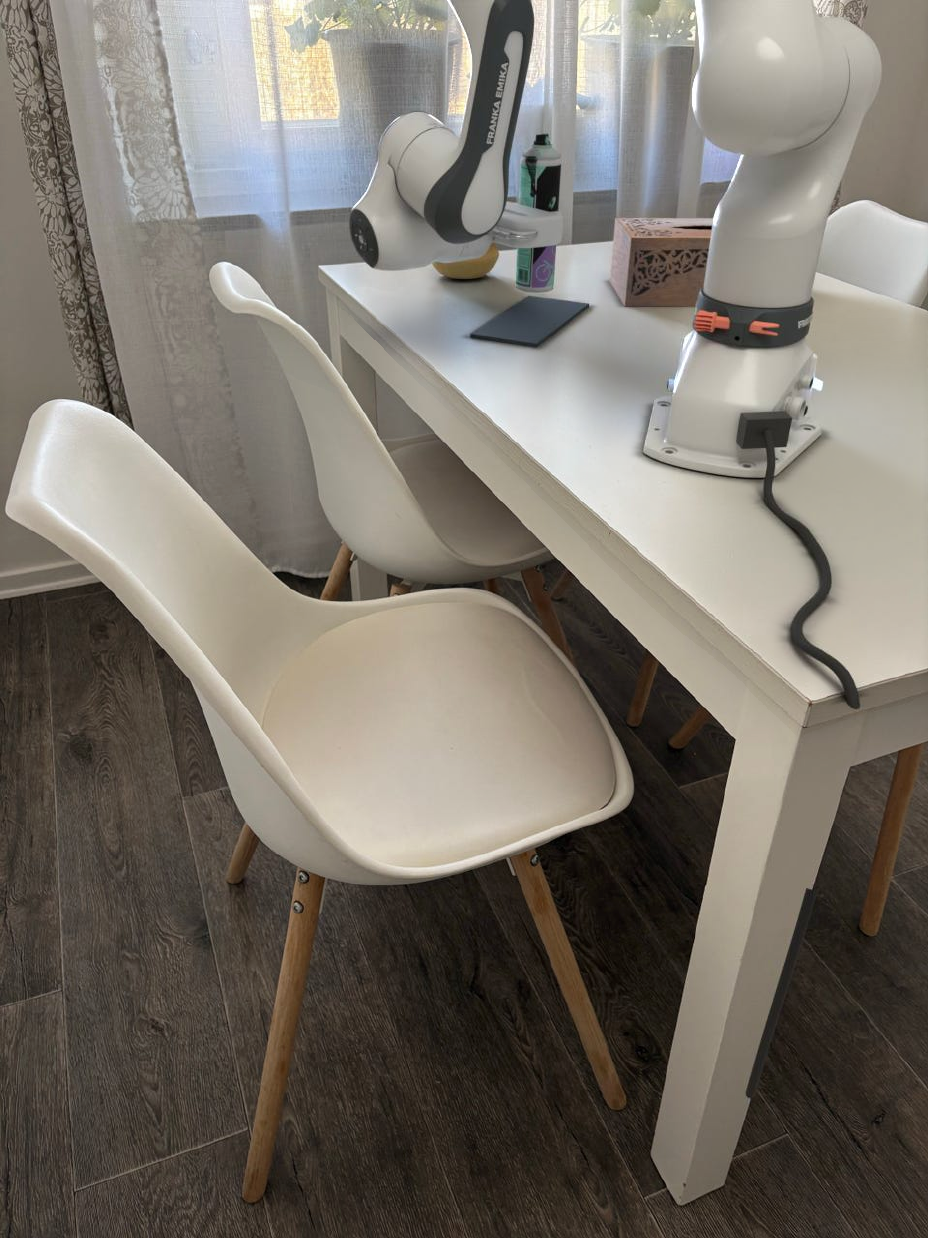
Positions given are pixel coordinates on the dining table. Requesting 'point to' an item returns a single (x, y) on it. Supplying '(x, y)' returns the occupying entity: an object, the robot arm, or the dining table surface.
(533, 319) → the mat
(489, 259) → the pot
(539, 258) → the spray can
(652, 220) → the tissue box cover
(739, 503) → the dining table surface
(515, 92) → the robot arm
